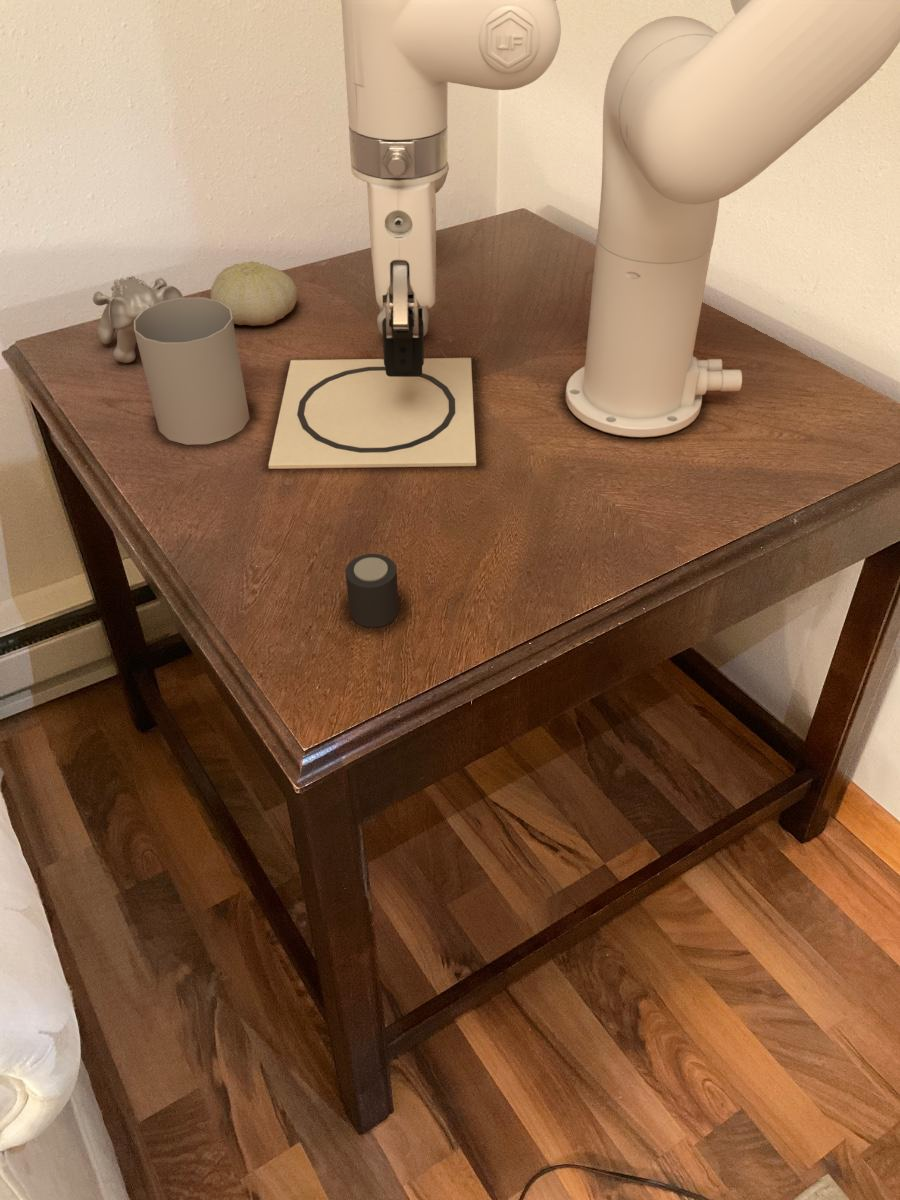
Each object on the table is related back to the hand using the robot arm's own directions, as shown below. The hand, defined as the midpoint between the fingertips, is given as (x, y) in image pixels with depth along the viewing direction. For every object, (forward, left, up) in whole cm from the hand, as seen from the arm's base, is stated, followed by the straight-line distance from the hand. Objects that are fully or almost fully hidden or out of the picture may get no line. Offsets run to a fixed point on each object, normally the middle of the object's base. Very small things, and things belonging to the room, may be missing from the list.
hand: (404, 360), depth 89 cm
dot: (+2, +27, -5) cm, 28 cm away
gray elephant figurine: (+26, -11, -5) cm, 28 cm away
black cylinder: (0, 0, 0) cm, 0 cm away
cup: (+19, +1, -5) cm, 20 cm away
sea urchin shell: (+17, -20, -5) cm, 27 cm away
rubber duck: (+1, -14, -5) cm, 15 cm away
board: (+3, 0, -5) cm, 6 cm away
